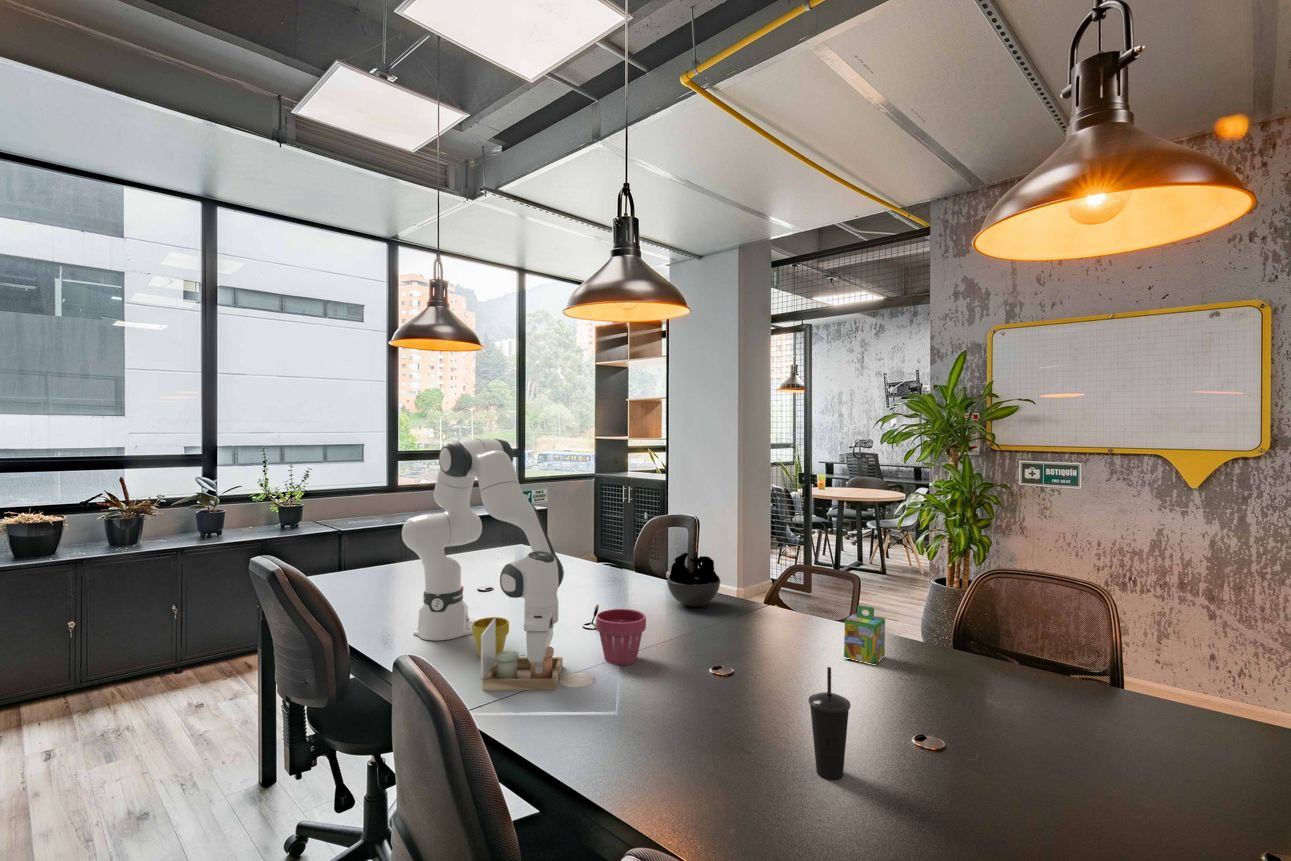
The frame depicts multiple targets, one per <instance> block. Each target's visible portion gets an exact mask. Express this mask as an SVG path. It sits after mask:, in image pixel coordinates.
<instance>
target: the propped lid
mask: <svg viewBox="0 0 1291 861" xmlns="http://www.w3.org/2000/svg"><path fill="white" fill-rule="evenodd" d="M495 661H496V619H493V620H492V622H491V623H490V624H489V625H488V627H487V628H486V629H485V631H484V632H483V633H482V635H481V657H480V680H481V681H482V682H483V679H485V677H486V676H487V674H488V672H489V671H490V669H491V668H492V666H493V664H494V663H495Z"/></svg>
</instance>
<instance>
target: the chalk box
mask: <svg viewBox="0 0 1291 861" xmlns="http://www.w3.org/2000/svg"><path fill="white" fill-rule="evenodd" d="M864 611H867V612H868V614H866V613H863V612H864ZM843 634H844V639H843V640H844V642H843V644H844V646H843V658H844V657H846V658H850V659H854V660H858V661H862V662H867V663H871V664H877V663H878V662H879V660H880V659H881V658H882V657H883V656H884V657H885V653H886V652H885V651H886V649H885V647H886V646H885V645H886V643H885V642H886V639H885V638H886V619H885V618H884V617H880V616H875V607H872V606H867V605H857V610H856V612H854V613H852V614H851V615H849V616H848V617H846V618H845V619H844V633H843ZM879 663H880V662H879ZM879 663H878V664H879ZM878 664H877V665H878Z"/></svg>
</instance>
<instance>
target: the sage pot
mask: <svg viewBox="0 0 1291 861" xmlns="http://www.w3.org/2000/svg"><path fill="white" fill-rule="evenodd" d="M519 654H520V653H519V652H518V651H515V650H503V652H500V653H498V654H496V661H497V679H516V678H517V660H518V658H520V657H519Z"/></svg>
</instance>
